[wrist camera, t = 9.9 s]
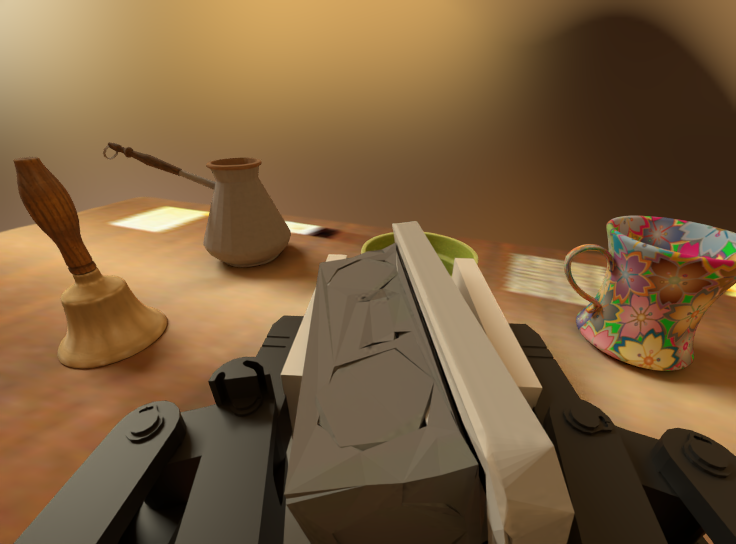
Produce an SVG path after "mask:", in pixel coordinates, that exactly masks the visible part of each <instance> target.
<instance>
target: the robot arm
mask: <svg viewBox="0 0 736 544" xmlns="http://www.w3.org/2000/svg"><path fill="white" fill-rule="evenodd" d="M346 258H347V255H331V254H329V255H328V258H327V260H326V262H328V261H334V260H340V259H346ZM452 280H453V281H454V283H455V284H456V286H457V288H458V289H459V291H460V293H461V294H462V296H463V298H464V299H465V301H466V303H467V304H468V306H469V307H470V309H471V311H472V312H473V314H474V316H475V317H476V319H477V321H478V322H479V324H480V325H481V327H482V329H483V330H484V332H485V334H486V335H487V337H488V339H489V340H490V342H491V344H492V345H493V347H494V348H495V350H496V352H497V353H498V355H499V357H500V358H501V360H502V362H503V363H504V365H505V366H506V368H507V370H508V371H509V373H510V375H511V376H512V378H513V380H514V381H515V383H516V385H517V386H518V388H519V389H520V391H521V393H522V394H523V396H524V398H525V399H526V401H527V403H528V404H529V406H530V408H531V409H532V411H533V412H534V414H535V416H536V417H537V419H538V421H539V422H540V424H541V426H542V427H543V429H544V430H545V432H546V434H547V435H548V437H549V439H550V440H551V442H552V444H553V445H554V448H555V451H556V455H557V458H558V461H559V464H560V467H561V471H562V474H563V477H564V480H565V484H566V487H567V490H568V493H569V497H570V500H571V503H572V506H573V509H574V517H573V521H572V525H571V529H570V533H569V537H568V540H567V544H708V542H707V541H706V540H705V539H704V537H703V535H704V534H707V535H708V536H709V538H710V539H711V540H712V542H713V543H714V544H736V456H735V455H733V454H732V453H731V452H730V451H729V450H727V449H726V448H725V447H724V446H722V445H720V444H719V443H717V442H715V441H714V440H712V439H710V438H709V437H706V436H704V435H702V434H699V433H697V432H694V431H692V430H686V429H681V428H674V429H668V430H667V431H666V432H665V433H664V434H663V435H662V437H661V438H660V439H659V440H658V439H655V438H652V437H648V436H645V435H642V434H638V433H635V432H632V431H629V430H625V429H623V428H620V427H617V426H615V425H614V424H613V422H612V421H611V419H610V418H609V417H608V416H607V415H606V414H605V413H604V412H602V411H601V410H600V409H599V408H597V407H596V406H594V405H592V404H590V403H589V402H587V401H584V400H581V399H580V398H579V396H578V395H577V393H576V392H575V390H574V388H573V387H572V385H571V384H570V382H569V381H568V379H567V377H566V376H565V374H564V373H563V371H562V370H561V368H560V367H559V365H558V363H557V362H556V360H554V359H553V356H552V354H551V353H550V351H549V349H547V346H546V345H545V343H544V342H543V340H542V338H541V337H540V335H539V334H538V333H536V332H535V331H534V330H533V329H531V328H530V327H529V326H528V325H526V324H509V323H508V322H507V320H506V318H505V317H504V315H503V313H502V311H501V309H500V307H499V305H498V303H497V302H496V300H495V298H494V296H493V294H492V292H491V290H490V288H489V287H488V285H487V283H486V281H485V279H484V277H483V275H482V273H481V272H480V270H479V268H478V266H477V264H476V262H475V260H474V259H470V258H455V260H454V266H453V273H452ZM329 283H330V282H329ZM329 283H328V284H327V285H329ZM315 290H316V288H315ZM315 290H314V293H313V295H312V298H311V300H310V303H309V305H308V308H307V310H306V313H305V315H304V316H283V317H281V318H280V319H279V320H278V321H277V322H276V323H274V324H273V325H272V327H271V329H270V331H269V333H268V335H267V338H266V339H265V341H264V343H263V344H262V347H261V348H260V350H259V352H258V354H257V356H256V357H242V358H238V359H233V360H231V361H229V362H227V363H225V364H223V365H222V366H221V367H220V368H218V369H217V370H216V371H215V372H214V373H213V375H212V376H211V378H210V379H209V381H208V382H209V385H210V388H211V391H212V393H213V396H214V399H215V402H216V404H214V405H211V406H208V407H204V408H199V409H195V410H190V411H186V412H180V410H179V408H178V407H177V406H176V405H175V404H174V403H172V402H168V401H157V402H152V403H149V404H146V405H143V406H141V407H139V408H137V409H136V410H134V411H132V412H130V413H129V414H128V415H126V416H125V417H124V418H123V419H122V420H121V421H120V422H119V423H118V424H117V425H116V426H115V427H114V428H113V429H112V431H111V432H110V433H109V434H108V435H107V436H106V438H105V439H104V440H103V441H102V442H101V443H100V444H99V446H98V447H97V448H96V449H95V450H94V451H93V453H92V454H91V455H90V456H89V457H88V458H87V459H86V461H85V462H84V463H83V464H82V465H81V466H80V468H79V469H78V470H77V471H76V472H75V473H74V474H73V476H72V477H71V478H70V479H69V480H68V481H67V483H66V484H65V485H64V486H63V487H62V488H61V489H60V491H59V492H58V493H57V494H56V495H55V496H54V498H53V499H52V500H51V501H50V502H49V503H48V504H47V506H46V507H45V508H44V509H43V510H42V511H41V513H40V514H39V515H38V516H37V517H36V518H35V519H34V521H33V522H32V523H31V524H30V525H29V526H28V528H27V529H26V530H25V531H24V532H23V533H22V534H21V536H20V537H19V538H18V539H17V540H16V541H15V543H14V544H283V543H284V527H285V510H286V497H285V495H284V492H285V485H286V479H287V472H288V458H287V449H288V445H289V442H290V439H291V435H292V440H293V433H294V427H295V420H296V414H297V407H298V401H299V394H300V388H301V381H302V375H303V368H304V362H305V355H306V349H307V342H308V336H309V329H310V323H311V316H312V310H313V303H314V297H315ZM317 425H319V426H321V425H320V424H319V423H318V422H317ZM321 427H322V426H321ZM322 428H323V427H322Z"/></svg>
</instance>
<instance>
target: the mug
mask: <svg viewBox="0 0 736 544" xmlns="http://www.w3.org/2000/svg"><path fill="white" fill-rule="evenodd" d="M607 234H608V242H609V251H607V250H606V249H605V248H603V247H601V246H598V245H593V244H587V245H581V246H578V247H576V248H574V249H573V250H571V251H570V252H569V253H568V254H567V256H566V258H565V261H564V270H565V274H566V277H567V279H568V281H569V283H570V284H571V286H572V287H573V289H574V290H575V291H576V292H577V293H578V294H579V295H580V296H582V297H583V298H584V299H586V300H588V301H589V302H591V303H590V304H589V305H588V306H587V307H586V308H584V309H583V310H581V311H580V312H579V313H578V315H577V317H576V324H577V327H578V329H579V331H580V332H581V334H582V335H583V336H584V337H585V338H586V339H587V340H588V341H589V342H590V343H591V344H593V345H594V346H595V347H597V348H598V349H600V350H601V351H603V352H604V353H606V354H608V355H610V356H612V357H614V358H616V359H618V360H621V361H623V362H626V363H629V364H632V365H635V366H638V367H642V368H647V369H652V370H660V371H673V370H679V369H683V368H685V367H687V366H688V365H690V364H691V363H692V361H693V359H694V351H693V338H694V334H695V331H696V328H697V326H698V324H699V322H700V320H701V318H702V317H703V315H704V314H705V312H706V311H707V310H708V308H709V307H710V306H711V305H712V304H713V303H714V302H715V301H716V300H717V299H718V298H719V297H720V296H721V295H722V294H723V293H724V292H725V291H726V290H728V289H729V288H730V287H731V286H733V285H734V284H735V283H736V233H733V232H730V231H727V230H723V229H720V228H716V227H712V226H708V225H703V224H699V223H693V222H689V221H683V220H677V219H670V218H661V217H651V216H624V217H618V218H614V219H612V220H610V221H609V222H608V223H607ZM590 250H594V251H599V252H601V253H602V254H604V255H605V257H606V259H607V271H606V275H605V278H604V281H603V284H602V286H601V288H600V290H599V292H598V294H597V295H596V297H595V298H593V297H591V296H590V295H588V294H587V293H585V292H584V291H583V290H581V289H580V288H579V287H578V285H577V284H576V283H575V281H574V279H573V277H572V274H571V262H572V260H573V258H574V257H575V256H576V255H578V254H579V253H582V252H584V251H590Z"/></svg>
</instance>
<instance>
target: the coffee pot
mask: <svg viewBox="0 0 736 544" xmlns="http://www.w3.org/2000/svg"><path fill="white" fill-rule="evenodd" d="M108 147H110V148H111V149H113V150H115V151H116V154H115V155H114V156H113V157H111V158H107V157H106V154H105V153H106V149H107V148H108ZM118 152H122V153H124V154H125V156H126V157H133V158H135V159H137V160H139V161H141V162H143V163H144V164H146V165H149V166H152V167H155V168H158V169H161V170H164V171H167V172H170V173H173V174H176V175H178V176H183V177H185V178H187V179H190V180H192V181H195V182H197V183H199V184H202V185H204V186H207V187H209V188H212V189H214V194H213V198H212V203H211V208H210V213H209V218H208V223H207V227H206V232H205V237H204V242H203V243H204V246H205V248H206V249H207V251H208V252H209V253H210V254H211V255H212V256H214V257H215V258H217V259H219V260H221V261H224V262H225V263H226V264H228V265H231V266H235V267H251V266H258V265H261V264H265V263H268V262H270V261H272V260H274V259H275V258H277V256H278V255H279V253H281V252H282V251H283V249H284V248H285V247H286V246H287V245H288V242H289V239H290V236H291V232H290V230H289V228H288V226H287V224H286V223H285V221H284V219H283V218H282V216H281V214H280V213H279V211H278V209H277V208H276V206H275V204H274V203H273V201H272V199H271V198H270V196H269V195H268V193H267V191H266V189H265V188H264V186H263V184H262V183H261V181H260V180H259V178H258V170H259V165H261V160H259V159H254V158H230V159H220V160H214V161H210V162H208V163H207V165H206V166H207V167H208V168H210V169H211V170H212V173H213V174H214V177H215V179H216V182H213V181H210V180H208V179H205V178H202V177H200V176H197V175H194V174H192V173H189V172H186V171H183V170H182V169H180V168H178V167H175V166H173V165H171V164H169V163H166V162H164V161H162V160H160V159H158V158H155V157H153V156H151V155H147V154H143V153H139V152H135V151H133V149H132V148H130V147H128V148H124V147H121V146H120V145H118V144H115V143H108V146H107V147H106V148H105V149H104V152H103V154H104V157H106V158H107V159H113V158H115V157H116V156H117V154H118Z"/></svg>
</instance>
